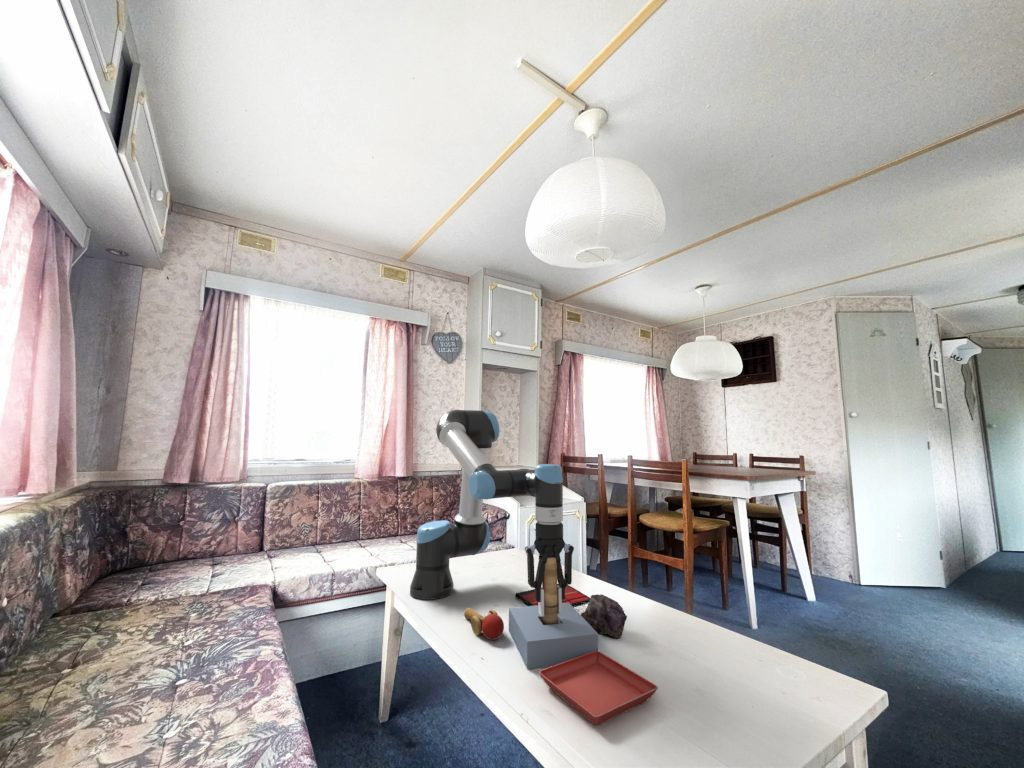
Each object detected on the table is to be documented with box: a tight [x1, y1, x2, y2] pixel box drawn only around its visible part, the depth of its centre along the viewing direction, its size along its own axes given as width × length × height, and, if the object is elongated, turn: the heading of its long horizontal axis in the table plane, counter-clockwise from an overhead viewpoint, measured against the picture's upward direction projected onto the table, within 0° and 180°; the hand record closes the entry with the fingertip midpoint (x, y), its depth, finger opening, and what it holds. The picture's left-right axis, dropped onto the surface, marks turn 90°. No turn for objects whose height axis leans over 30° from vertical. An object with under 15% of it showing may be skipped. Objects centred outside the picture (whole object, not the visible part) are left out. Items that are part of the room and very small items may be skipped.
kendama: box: [463, 607, 505, 641], centre depth 115 cm, size 8×6×18 cm
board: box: [508, 602, 599, 670], centre depth 107 cm, size 20×18×6 cm
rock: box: [580, 593, 628, 639], centre depth 115 cm, size 12×9×10 cm
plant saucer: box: [538, 650, 659, 726], centre depth 86 cm, size 18×18×3 cm
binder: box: [514, 583, 591, 606], centre depth 137 cm, size 16×2×21 cm
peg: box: [541, 557, 558, 625], centre depth 108 cm, size 4×4×18 cm
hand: (550, 613), depth 108 cm, fingers closed on peg, 4 cm apart
